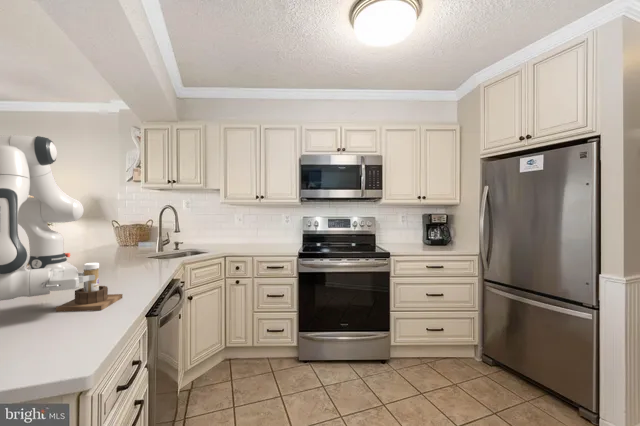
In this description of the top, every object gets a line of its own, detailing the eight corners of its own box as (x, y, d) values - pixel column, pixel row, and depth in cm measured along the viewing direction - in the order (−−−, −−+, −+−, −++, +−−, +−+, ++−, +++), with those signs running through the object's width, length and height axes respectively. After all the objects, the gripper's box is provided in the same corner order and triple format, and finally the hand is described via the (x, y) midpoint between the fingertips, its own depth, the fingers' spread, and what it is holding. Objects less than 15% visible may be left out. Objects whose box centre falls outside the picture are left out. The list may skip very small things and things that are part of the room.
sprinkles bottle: (98, 300, 108) (98, 263, 108) (82, 303, 106) (82, 265, 105) (99, 297, 112) (99, 261, 112) (84, 299, 109) (83, 262, 109)
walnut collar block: (83, 298, 115) (82, 284, 115) (122, 297, 117) (122, 283, 117) (56, 311, 101) (55, 295, 101) (101, 310, 103) (101, 294, 103)
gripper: (40, 278, 92) (96, 271, 101) (44, 267, 108) (92, 262, 117) (40, 298, 92) (96, 290, 101) (44, 284, 108) (93, 278, 117)
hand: (94, 275), depth 109 cm, fingers closed on sprinkles bottle, 4 cm apart
